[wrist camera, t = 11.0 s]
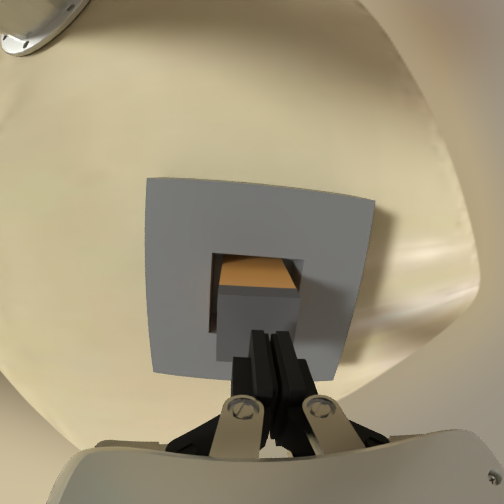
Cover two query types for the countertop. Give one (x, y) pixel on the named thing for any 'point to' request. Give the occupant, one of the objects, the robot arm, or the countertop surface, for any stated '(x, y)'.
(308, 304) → the socket plate
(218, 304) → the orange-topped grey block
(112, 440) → the robot arm
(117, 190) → the countertop surface
